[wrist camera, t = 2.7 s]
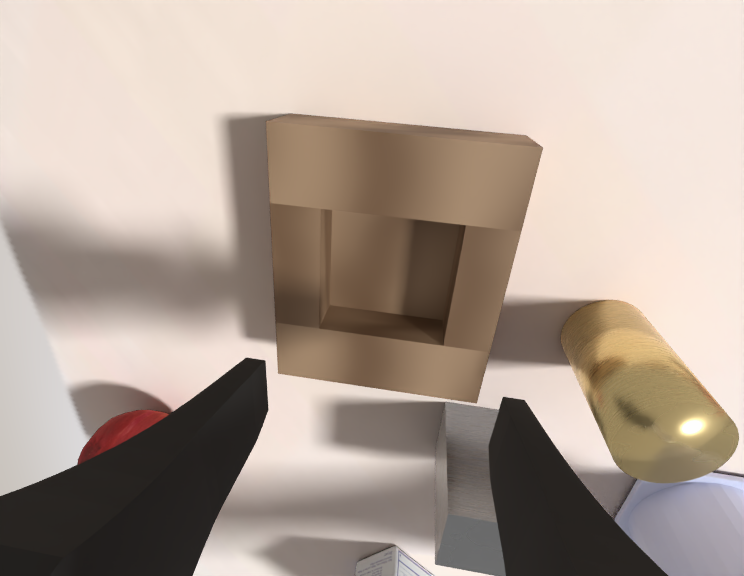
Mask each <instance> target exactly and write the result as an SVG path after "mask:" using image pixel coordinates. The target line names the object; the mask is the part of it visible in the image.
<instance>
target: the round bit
mask: <svg viewBox="0 0 744 576" xmlns="http://www.w3.org/2000/svg"><path fill="white" fill-rule="evenodd" d="M561 344H562V347H563V349H564V351H565V354H566V356H567V358H568V360H569V363H570V365H571V367H572V369H573V371H574V374H575V376H576V378H577V380H578V382H579V385H580V387H581V389H582V391H583V393H584V396H585V398H586V400H587V402H588V404H589V407H590V409H591V411H592V413H593V415H594V418H595V420H596V422H597V424H598V426H599V429H600V431H601V433H602V435H603V438H604V440H605V442H606V444H607V446H608V449H609V451H610V453H611V455H612V457H613V460H614V462H615V463H616V465H617V466H618V467H619V468H620V469H621V470H622V471H624V472H625V473H626V474H628V475H630V476H632V477H634V478H636V479H639V480H643V481H647V482H653V483H678V482H684V481H689V480H693V479H696V478H699V477H702V476H705V475H707V474H709V473H711V472H713V471H714V470H716V469H718V468H719V467H721V466H722V465H723V464H724V463H726V462H727V461H728V460H729V459H730V457H731V456H732V455H733V453H734V452H735V450H736V448H737V445H738V441H739V433H738V429H737V427H736V425H735V423H734V422H733V421H732V419H731V418H730V417H729V416H728V415H727V413H726V412H725V411H724V410H723V409H722V407H721V406H720V405H719V404H718V403H717V402H716V400H715V399H714V398H713V397H712V396H711V394H710V393H709V392H708V391H707V390H706V388H705V387H704V386H703V385H702V384H701V383H700V381H699V380H698V379H697V378H696V377H695V375H694V374H693V373H692V372H691V371H690V370H689V368H688V367H687V366H686V365H685V364H684V362H683V361H682V360H681V359H680V358H679V356H678V355H677V354H676V353H675V352H674V351H673V349H672V348H671V347H670V346H669V345H668V343H667V342H666V341H665V340H664V339H663V337H662V336H661V335H660V334H659V333H658V332H657V330H656V329H655V328H654V327H653V326H652V324H651V323H650V322H649V321H648V320H647V318H646V317H645V316H644V315H643V314H642V313H641V311H640V310H638V309H637V308H636V307H634V306H633V305H631V304H629V303H626V302H623V301H617V300H604V301H598V302H594V303H591V304H588V305H586V306H584V307H582V308H580V309H579V310H577V311H576V312H575V313H573V314H572V315H571V316H570V317H569V319H568V320H567V321H566V323H565V324H564V326H563V329H562V332H561Z"/></svg>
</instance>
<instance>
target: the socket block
mask: <svg viewBox="0 0 744 576" xmlns="http://www.w3.org/2000/svg"><path fill="white" fill-rule="evenodd" d="M266 134H267V155H268V175H269V196H270V216H271V237H272V258H273V278H274V299H275V319H276V340H277V360H278V374H285V375H292V376H298V377H305V378H312V379H318V380H325V381H331V382H338V383H345V384H351V385H358V386H365V387H371V388H378V389H385V390H391V391H398V392H405V393H411V394H418V395H425V396H431V397H438V398H445V399H451V400H458V401H464V402H471V403H477V400H478V396H479V392H480V389H481V385H482V381H483V377H484V373H485V369H486V365H487V362H488V358H489V354H490V350H491V346H492V342H493V338H494V335H495V331H496V327H497V323H498V319H499V315H500V311H501V308H502V304H503V300H504V296H505V292H506V288H507V284H508V281H509V277H510V273H511V269H512V265H513V261H514V258H515V254H516V250H517V246H518V242H519V238H520V234H521V231H522V227H523V223H524V219H525V215H526V211H527V207H528V204H529V200H530V196H531V192H532V188H533V184H534V180H535V177H536V173H537V169H538V165H539V161H540V157H541V153H542V150H543V147H541V146H540V145H539V144H537V143H536V142H535V141H533V140H532V139H530V138H529V137H528V136H526V135H515V134H504V133H493V132H483V131H472V130H461V129H451V128H440V127H429V126H418V125H408V124H397V123H386V122H376V121H365V120H354V119H343V118H333V117H322V116H311V115H301V114H288V115H285V116H281V117H278V118H275V119H272V120H268V121H266Z"/></svg>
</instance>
